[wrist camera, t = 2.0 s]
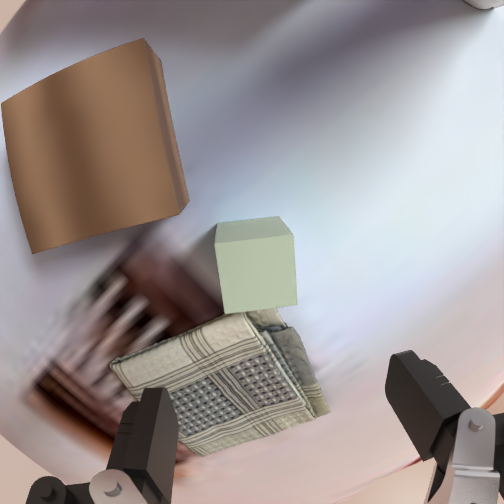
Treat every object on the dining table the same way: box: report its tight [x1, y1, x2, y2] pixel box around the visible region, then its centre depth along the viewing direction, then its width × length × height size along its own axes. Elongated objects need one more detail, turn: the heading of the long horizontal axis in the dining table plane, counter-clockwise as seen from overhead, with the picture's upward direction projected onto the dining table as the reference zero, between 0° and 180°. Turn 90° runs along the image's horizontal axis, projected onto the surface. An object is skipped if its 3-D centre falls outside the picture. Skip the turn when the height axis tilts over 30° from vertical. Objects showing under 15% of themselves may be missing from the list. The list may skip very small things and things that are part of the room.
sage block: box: [214, 216, 297, 314], centre depth 23 cm, size 5×5×6 cm
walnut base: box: [1, 38, 190, 254], centre depth 20 cm, size 12×12×6 cm
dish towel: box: [109, 308, 331, 457], centre depth 30 cm, size 19×18×3 cm
